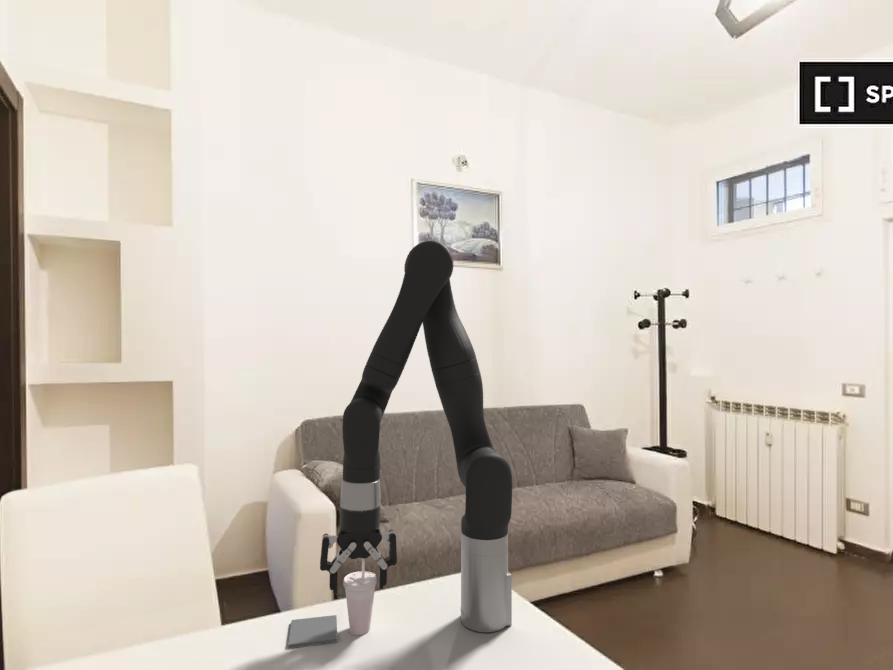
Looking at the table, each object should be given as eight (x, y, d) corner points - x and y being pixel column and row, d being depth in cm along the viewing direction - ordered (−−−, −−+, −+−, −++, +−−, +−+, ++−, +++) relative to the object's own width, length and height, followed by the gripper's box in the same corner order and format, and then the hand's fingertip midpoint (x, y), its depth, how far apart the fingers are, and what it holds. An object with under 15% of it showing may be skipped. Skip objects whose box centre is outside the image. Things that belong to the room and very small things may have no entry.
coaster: (336, 618, 101) (336, 614, 101) (337, 642, 93) (337, 638, 93) (291, 623, 99) (291, 620, 99) (288, 648, 91) (288, 644, 91)
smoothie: (370, 641, 93) (370, 563, 94) (337, 637, 94) (337, 560, 95) (381, 622, 99) (382, 549, 100) (350, 619, 101) (351, 547, 101)
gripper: (395, 495, 103) (392, 577, 102) (322, 498, 99) (319, 583, 99) (400, 507, 95) (398, 595, 95) (321, 510, 92) (318, 602, 92)
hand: (357, 589), depth 97 cm, fingers open, 8 cm apart
